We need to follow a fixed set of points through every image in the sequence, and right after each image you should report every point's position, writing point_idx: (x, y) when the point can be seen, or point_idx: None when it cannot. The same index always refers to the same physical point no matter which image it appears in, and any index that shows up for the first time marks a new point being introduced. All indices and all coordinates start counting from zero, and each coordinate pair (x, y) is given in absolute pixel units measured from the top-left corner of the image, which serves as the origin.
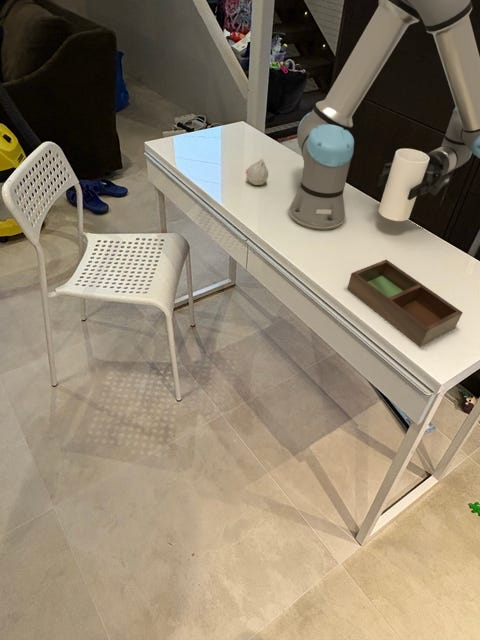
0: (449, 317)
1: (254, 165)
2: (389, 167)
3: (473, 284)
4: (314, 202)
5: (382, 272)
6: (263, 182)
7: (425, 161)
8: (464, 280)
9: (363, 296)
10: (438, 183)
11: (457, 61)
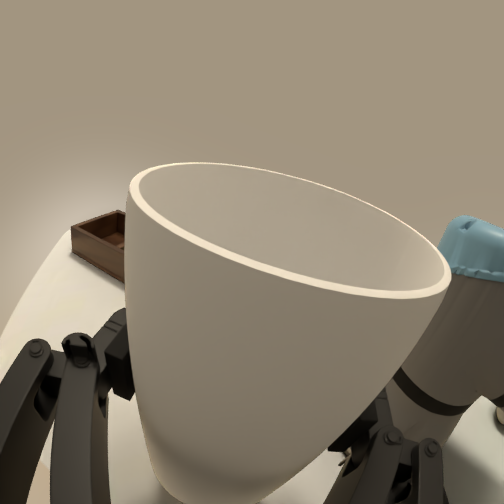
0: (89, 220)
1: None
2: (409, 462)
3: (8, 324)
4: None
5: None
6: (498, 412)
7: (169, 165)
8: (19, 331)
9: None
10: (17, 379)
11: None
